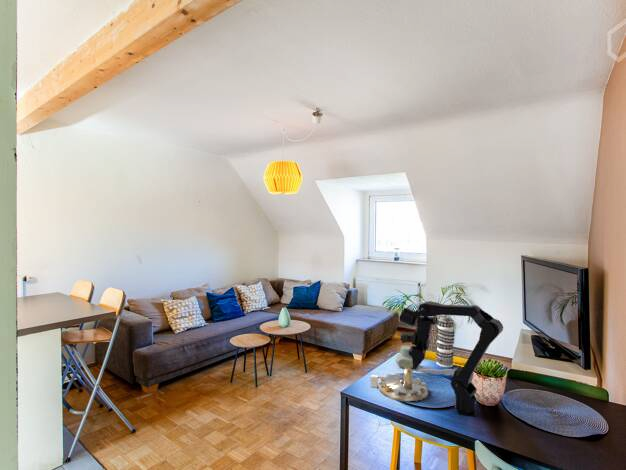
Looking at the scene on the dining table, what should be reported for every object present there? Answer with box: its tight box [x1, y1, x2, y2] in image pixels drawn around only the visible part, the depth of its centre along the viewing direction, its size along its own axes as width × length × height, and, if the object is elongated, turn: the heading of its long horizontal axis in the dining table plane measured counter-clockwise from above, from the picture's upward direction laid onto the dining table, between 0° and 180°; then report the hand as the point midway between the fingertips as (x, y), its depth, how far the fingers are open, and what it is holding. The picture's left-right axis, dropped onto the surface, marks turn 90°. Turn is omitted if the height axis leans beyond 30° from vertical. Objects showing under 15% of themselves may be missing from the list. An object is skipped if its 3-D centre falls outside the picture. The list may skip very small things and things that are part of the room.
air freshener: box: [394, 345, 413, 369], centre depth 179 cm, size 11×8×10 cm
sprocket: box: [379, 368, 427, 397], centre depth 152 cm, size 19×19×10 cm
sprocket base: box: [378, 381, 429, 402], centre depth 152 cm, size 21×21×2 cm
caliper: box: [416, 367, 459, 377], centre depth 168 cm, size 20×1×6 cm, turn 56°
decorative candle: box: [435, 315, 456, 368], centre depth 183 cm, size 9×9×25 cm
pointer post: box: [370, 374, 383, 389], centre depth 155 cm, size 5×2×5 cm, turn 74°
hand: (416, 364), depth 148 cm, fingers open, 9 cm apart
